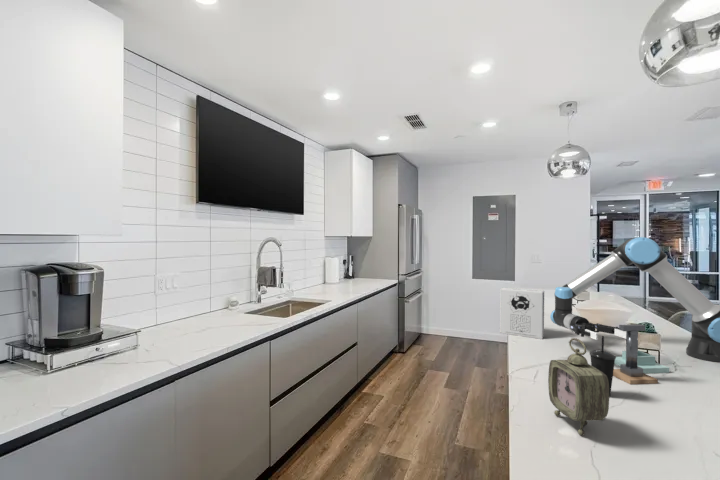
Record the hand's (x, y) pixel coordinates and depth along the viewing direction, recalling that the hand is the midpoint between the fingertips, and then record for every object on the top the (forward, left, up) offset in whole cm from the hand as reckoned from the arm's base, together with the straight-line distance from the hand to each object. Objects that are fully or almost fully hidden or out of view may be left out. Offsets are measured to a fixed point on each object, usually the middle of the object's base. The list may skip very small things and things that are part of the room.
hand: (612, 336), depth 148 cm
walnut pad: (0, +10, -13) cm, 17 cm away
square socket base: (-13, -1, -13) cm, 19 cm away
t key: (0, +10, -12) cm, 15 cm away
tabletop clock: (+45, +40, -14) cm, 62 cm away
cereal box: (+10, -53, -14) cm, 55 cm away
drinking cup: (+22, +22, -14) cm, 34 cm away
